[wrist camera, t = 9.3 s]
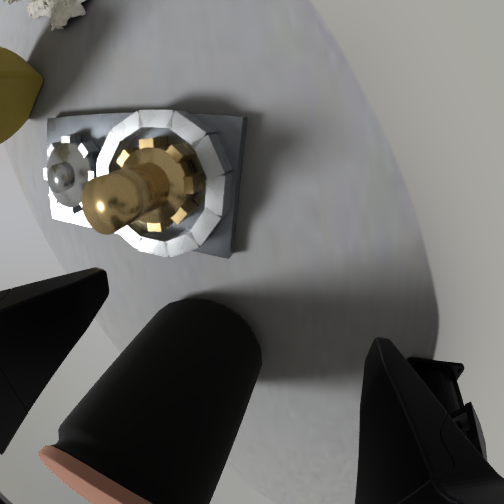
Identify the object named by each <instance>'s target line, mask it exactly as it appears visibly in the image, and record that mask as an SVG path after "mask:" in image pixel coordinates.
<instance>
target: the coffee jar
mask: <svg viewBox="0 0 504 504" xmlns="http://www.w3.org/2000/svg"><path fill="white" fill-rule="evenodd" d="M261 366H262V358H261V349H260V346H259V344H258V342H257V340H256V337H255V335H254V333H253V332H252V330H251V328H250V327H249V326H248V325H247V324H246V323H245V322H244V320H243V319H242V318H241V317H240V316H239V315H237V314H236V313H234V312H233V311H231V310H230V309H228V308H227V307H225V306H223V305H220V304H217V303H215V302H212V301H209V300H199V299H185V300H180V301H176V302H172V303H169V304H168V305H166V306H165V307H164V308H162V309H161V310H159V311H158V312H157V314H156V315H155V316H154V317H153V318H152V319H151V320H150V321H149V323H148V324H147V325H146V326H145V327H144V328H143V329H142V330H141V332H140V333H139V334H138V335H137V336H136V337H135V338H134V339H133V341H132V342H131V343H130V344H129V345H128V346H127V347H126V349H125V350H124V351H123V352H122V353H121V354H120V356H119V357H118V358H117V359H116V360H115V361H114V362H113V364H112V365H111V366H110V367H109V368H108V369H107V370H106V372H105V373H104V374H103V375H102V376H101V377H100V379H99V380H98V381H97V382H96V383H95V384H94V386H93V387H92V388H91V389H90V390H89V392H88V393H87V394H86V395H85V396H84V397H83V399H82V400H81V401H80V402H79V403H78V405H77V406H76V407H75V408H74V409H73V411H72V412H71V413H70V414H69V415H68V417H67V418H66V419H65V421H64V422H63V423H62V424H61V425H60V428H59V441H58V442H57V443H56V444H55V445H50V446H45V447H44V448H43V449H42V450H41V451H40V452H39V456H40V459H41V460H42V461H43V463H45V465H46V466H47V467H48V468H49V469H50V470H51V471H52V472H53V473H54V474H55V475H56V476H57V477H58V478H59V479H61V480H62V481H63V482H64V483H65V484H67V485H68V486H69V487H70V488H72V489H73V490H74V491H76V492H77V493H78V494H80V495H81V496H82V497H84V498H85V499H87V500H88V501H90V502H91V503H92V504H209V503H210V501H211V498H212V496H213V494H214V491H215V489H216V486H217V484H218V481H219V479H220V476H221V474H222V471H223V469H224V466H225V464H226V461H227V459H228V456H229V454H230V451H231V448H232V446H233V443H234V441H235V438H236V435H237V433H238V430H239V427H240V425H241V422H242V419H243V416H244V414H245V411H246V408H247V406H248V403H249V400H250V397H251V394H252V392H253V389H254V386H255V383H256V380H257V377H258V375H259V372H260V369H261Z"/></svg>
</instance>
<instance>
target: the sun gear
mask: <svg viewBox="0 0 504 504" xmlns="http://www.w3.org/2000/svg"><path fill="white" fill-rule="evenodd" d="M98 151H99V149H98V147H97V146H96V144H95V143H94V141H88V142H83V141H81V134H69V135H64V136H61V141H60V142H55V143H51V145H50V147H49V148H48V150H47V154H48V155H49V159H48V164H47V167H44V168H43V171H44V180H48V184H49V187H50V190H51V193H50V194H49V196H50V198H51V200H52V201H53V203H54V204H57V203H60V204H61V205H63V206H64V207H65V213H67V214H72V215H73V214H76V213H78V212H80V211H82V210H83V209H82V201H81V199H82V192H83V189H84V187H85V185H86V184H87V182H88V181H89V180H91V179H92V178H95V177H97V162H98V161H97V157H96V154H97V153H98Z"/></svg>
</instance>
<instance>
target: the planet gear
mask: <svg viewBox="0 0 504 504" xmlns="http://www.w3.org/2000/svg"><path fill="white" fill-rule="evenodd" d="M194 154H195V153H194V152H193V151H192V150H191V149H190V148H189V147H188V146H187V145H186V144H185V143H178V144H172V145H171V146H168V145H167V136H165V137H155V138H147V139H140V140H139V147H135V148H129V149H124V150H123V152H122V153H121V155H120V156H119V158H118V159H117V161H116V162H117V163H118V164H119V165H120V166H121V167H122V168H121V170H118V171H114V172H111V173H107V174H104V175H101V176H98V177H95V178H92V179H91V180H89V181H88V182H87V184H86V185H85V187H84V189H83V192H82V199H81V201H82V209H83V213H84V216H85V218H86V220H87V221H88V223H89V224H90V225H91V227H92V228H93V229H95V230H96V231H98V232H99V233H102V234H113V233H115V232H117V231H119V230H120V229H122V228H124V227H125V226H127V225H129V224H131V223H133V222H135V221H137V220H141V221H144V222H147V227H148V231H155V232H162V231H163V230H165V229H166V228H168V227H169V226H171V225H172V224H173V223H174V222H175V223H176V224H177V225H178V224H179V223H181V222H182V221H184V220H185V219H187V218H188V217H189V216H190V215H191V214H192V213H193V212H194V211H195V210H196V208H197V207H198V206H197V205H196V204H195V203H194V202H193V201H192V199H193V196H194V194H195V193H196V192H198V191H199V190H201V189H203V188H204V172H195V171H194V168H193V165H192V163H191V162H190V159H191V157H192V156H193V155H194ZM173 221H174V222H173Z"/></svg>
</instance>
